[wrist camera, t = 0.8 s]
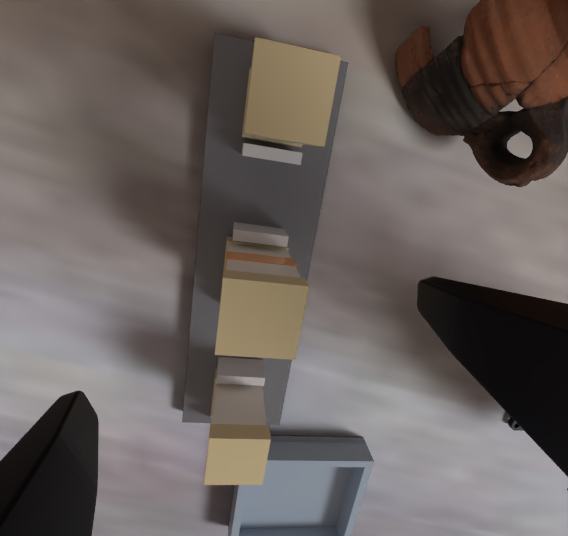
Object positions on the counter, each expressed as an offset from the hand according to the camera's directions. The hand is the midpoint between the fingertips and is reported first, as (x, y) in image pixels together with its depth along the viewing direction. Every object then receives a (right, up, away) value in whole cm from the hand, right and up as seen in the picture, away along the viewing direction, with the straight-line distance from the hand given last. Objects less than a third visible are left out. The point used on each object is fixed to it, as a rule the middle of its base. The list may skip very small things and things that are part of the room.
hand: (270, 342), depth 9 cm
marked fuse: (-1, +2, +12) cm, 13 cm away
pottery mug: (+12, +13, +12) cm, 21 cm away
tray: (+1, -16, +20) cm, 26 cm away
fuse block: (-2, +2, +13) cm, 14 cm away
